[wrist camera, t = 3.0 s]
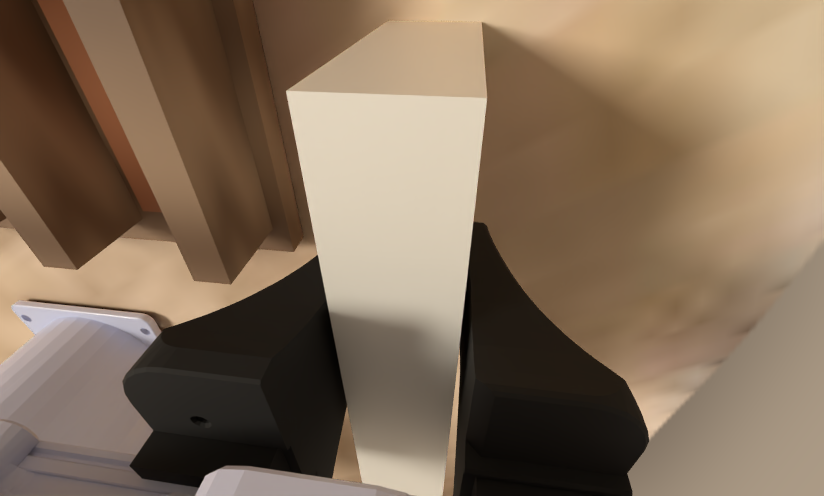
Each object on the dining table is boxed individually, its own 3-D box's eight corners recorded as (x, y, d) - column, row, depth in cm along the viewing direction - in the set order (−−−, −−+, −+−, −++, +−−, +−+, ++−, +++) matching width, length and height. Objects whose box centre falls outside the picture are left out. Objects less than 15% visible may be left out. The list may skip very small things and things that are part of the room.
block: (453, 326, 17) (442, 499, 12) (399, 321, 18) (362, 487, 12) (481, 21, 10) (487, 97, 5) (388, 20, 10) (285, 90, 5)
